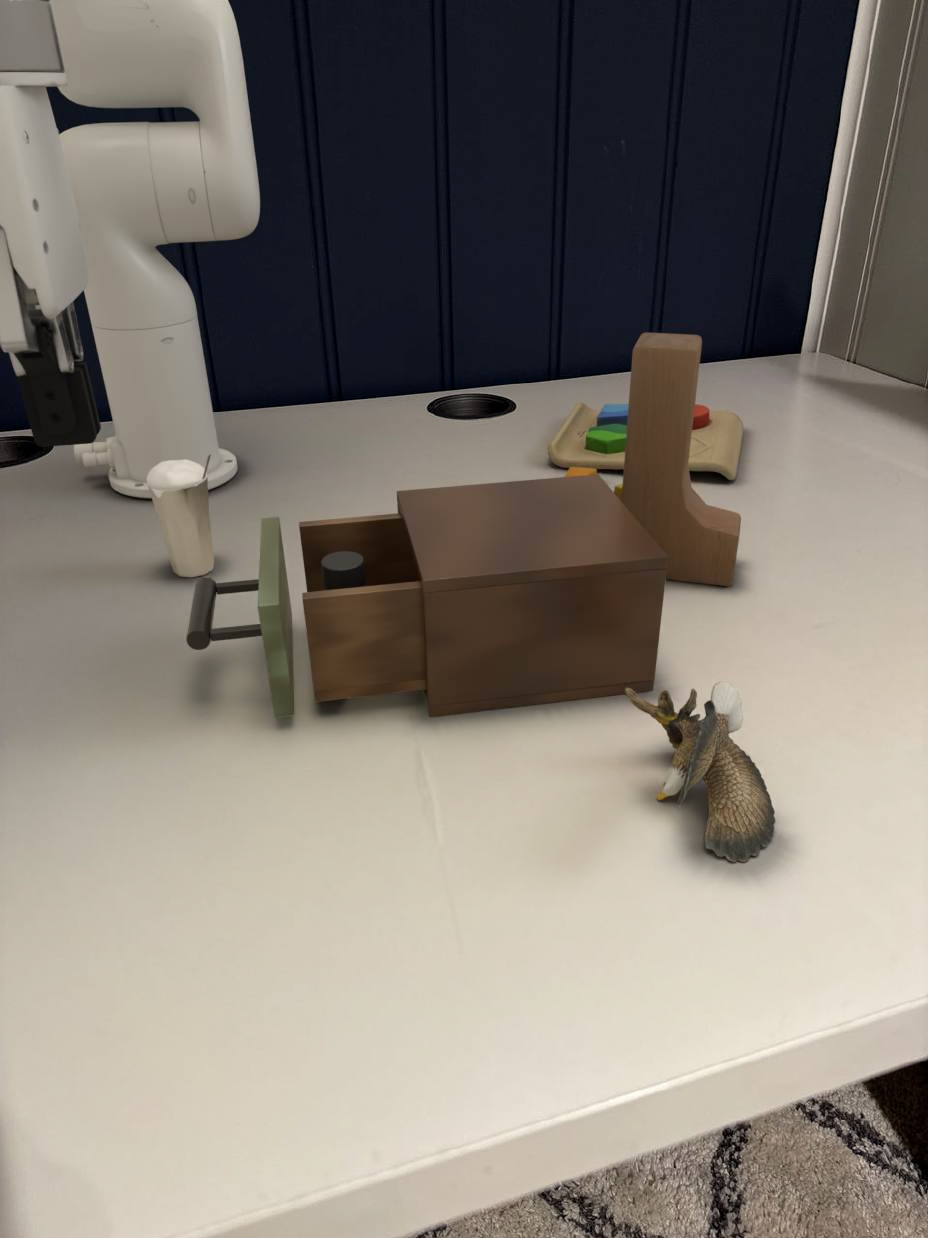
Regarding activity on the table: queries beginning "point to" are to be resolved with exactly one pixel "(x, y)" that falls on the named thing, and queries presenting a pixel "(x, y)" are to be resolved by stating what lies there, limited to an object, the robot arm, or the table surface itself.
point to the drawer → (331, 612)
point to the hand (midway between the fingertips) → (69, 438)
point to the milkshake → (184, 514)
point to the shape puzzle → (603, 440)
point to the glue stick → (343, 570)
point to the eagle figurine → (715, 770)
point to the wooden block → (673, 463)
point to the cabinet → (533, 592)
